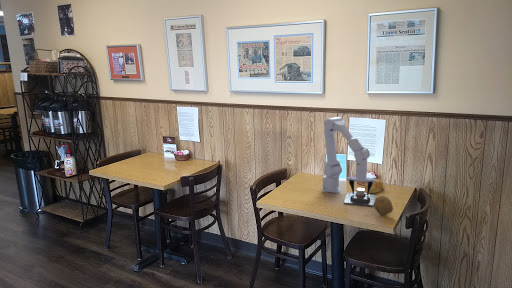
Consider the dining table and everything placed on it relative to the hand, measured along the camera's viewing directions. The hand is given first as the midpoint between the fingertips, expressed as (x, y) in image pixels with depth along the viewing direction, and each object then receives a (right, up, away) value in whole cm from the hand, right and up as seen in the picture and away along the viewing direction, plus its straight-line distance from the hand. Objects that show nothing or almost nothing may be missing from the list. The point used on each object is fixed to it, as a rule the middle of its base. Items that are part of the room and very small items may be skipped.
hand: (360, 194), depth 212 cm
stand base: (0, -4, +1) cm, 4 cm away
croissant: (+12, 0, +17) cm, 21 cm away
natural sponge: (+6, -8, -19) cm, 21 cm away
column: (0, -4, +1) cm, 4 cm away
